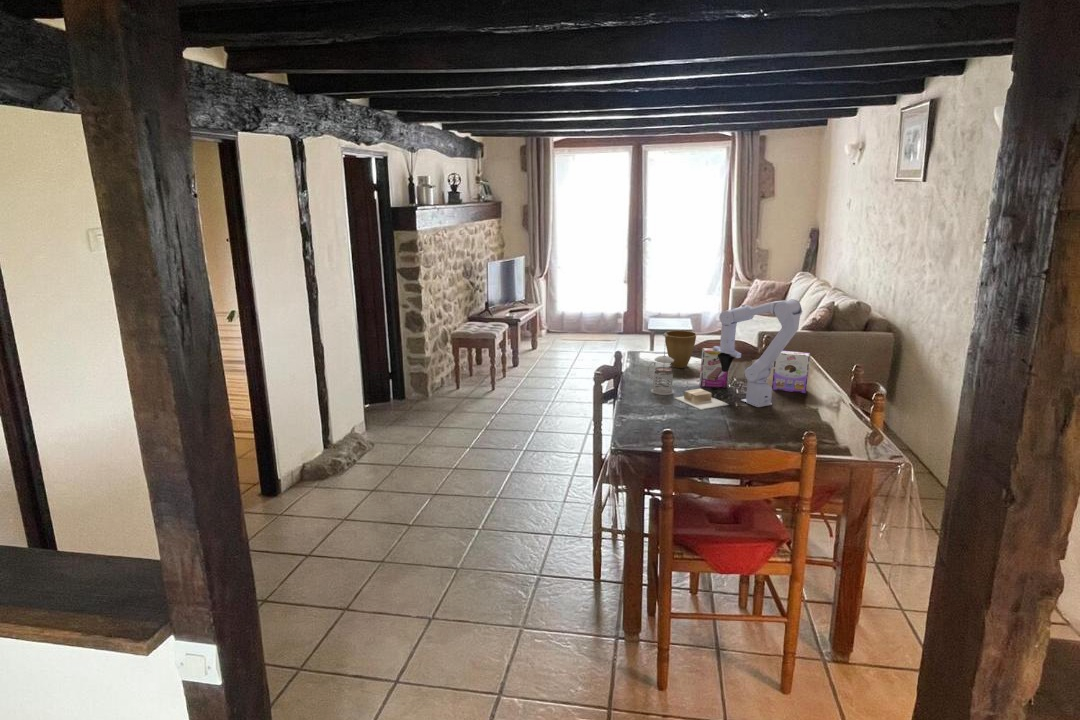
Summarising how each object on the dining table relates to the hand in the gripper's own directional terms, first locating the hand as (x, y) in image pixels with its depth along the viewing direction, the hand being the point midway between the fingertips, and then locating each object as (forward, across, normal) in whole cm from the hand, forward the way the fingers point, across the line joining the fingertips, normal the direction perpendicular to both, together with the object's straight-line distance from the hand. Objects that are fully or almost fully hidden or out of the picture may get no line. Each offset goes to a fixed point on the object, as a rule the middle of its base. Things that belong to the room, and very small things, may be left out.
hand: (725, 371), depth 277 cm
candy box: (+10, +7, +30) cm, 32 cm away
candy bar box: (+10, -11, +4) cm, 15 cm away
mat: (+10, +4, -15) cm, 18 cm away
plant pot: (+10, -45, +12) cm, 48 cm away
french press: (+10, -15, -21) cm, 28 cm away
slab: (+8, +5, -15) cm, 18 cm away
